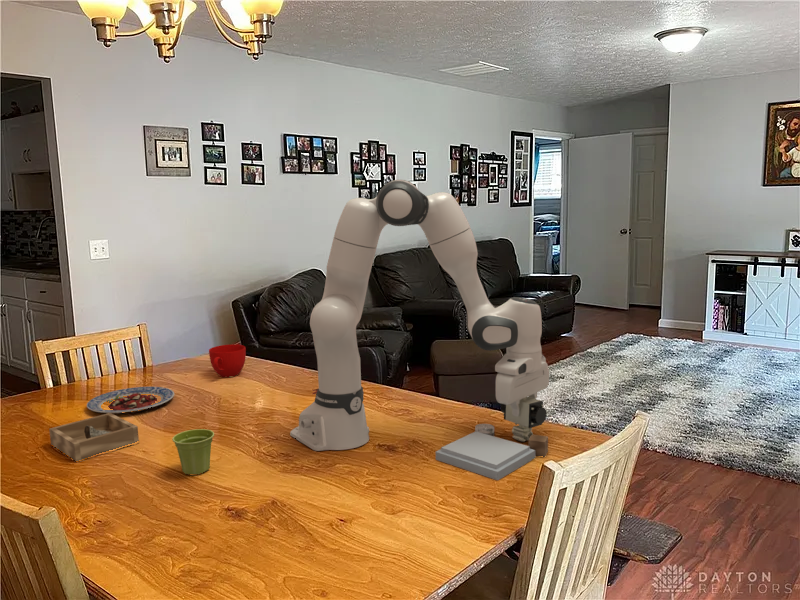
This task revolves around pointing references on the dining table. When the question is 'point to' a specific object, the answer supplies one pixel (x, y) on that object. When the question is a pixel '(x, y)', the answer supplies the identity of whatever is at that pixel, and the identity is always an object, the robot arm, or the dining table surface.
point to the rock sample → (93, 432)
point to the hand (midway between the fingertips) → (523, 412)
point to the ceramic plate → (130, 399)
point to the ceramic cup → (227, 359)
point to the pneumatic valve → (525, 417)
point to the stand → (486, 455)
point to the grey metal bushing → (485, 429)
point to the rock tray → (80, 447)
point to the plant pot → (194, 450)
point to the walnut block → (539, 444)
